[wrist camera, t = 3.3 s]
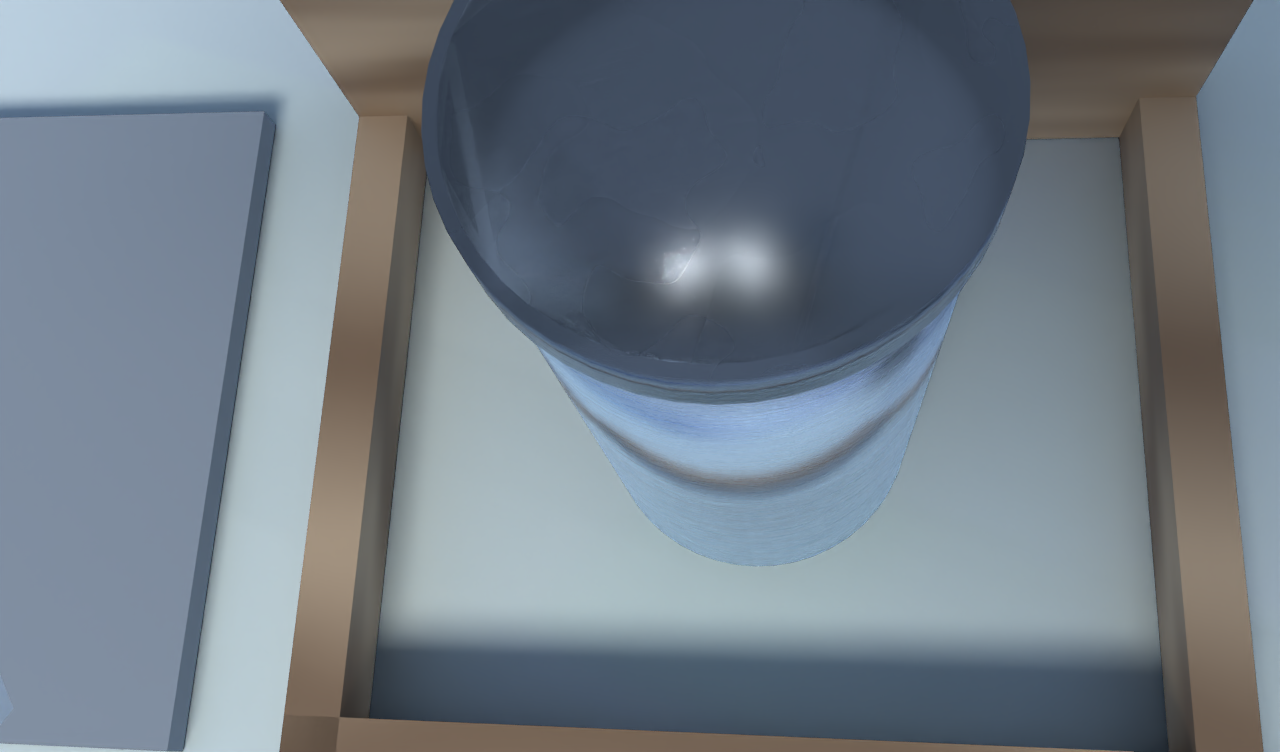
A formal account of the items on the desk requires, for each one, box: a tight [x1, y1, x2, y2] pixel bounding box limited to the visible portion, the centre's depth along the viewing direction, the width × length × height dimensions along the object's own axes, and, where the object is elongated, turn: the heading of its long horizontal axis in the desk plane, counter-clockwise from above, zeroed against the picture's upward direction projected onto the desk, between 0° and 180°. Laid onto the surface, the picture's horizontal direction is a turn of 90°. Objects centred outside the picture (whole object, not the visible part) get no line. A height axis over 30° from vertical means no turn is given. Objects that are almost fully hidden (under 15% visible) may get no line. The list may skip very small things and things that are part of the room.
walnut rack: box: [279, 0, 1263, 752], centre depth 19 cm, size 16×16×9 cm
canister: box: [421, 0, 1031, 566], centre depth 18 cm, size 6×6×12 cm
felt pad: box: [0, 111, 276, 751], centre depth 25 cm, size 13×9×1 cm
